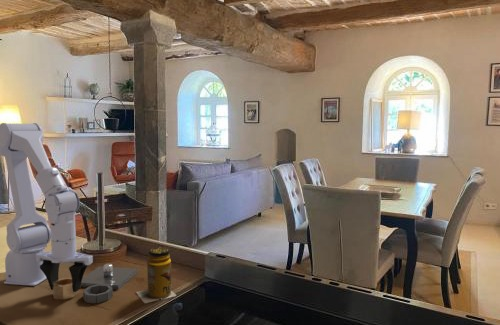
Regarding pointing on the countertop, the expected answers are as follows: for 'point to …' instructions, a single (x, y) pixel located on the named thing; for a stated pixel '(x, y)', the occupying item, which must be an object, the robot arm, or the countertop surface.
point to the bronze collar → (63, 289)
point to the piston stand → (108, 276)
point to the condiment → (158, 276)
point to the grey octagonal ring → (92, 297)
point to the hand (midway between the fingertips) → (65, 289)
